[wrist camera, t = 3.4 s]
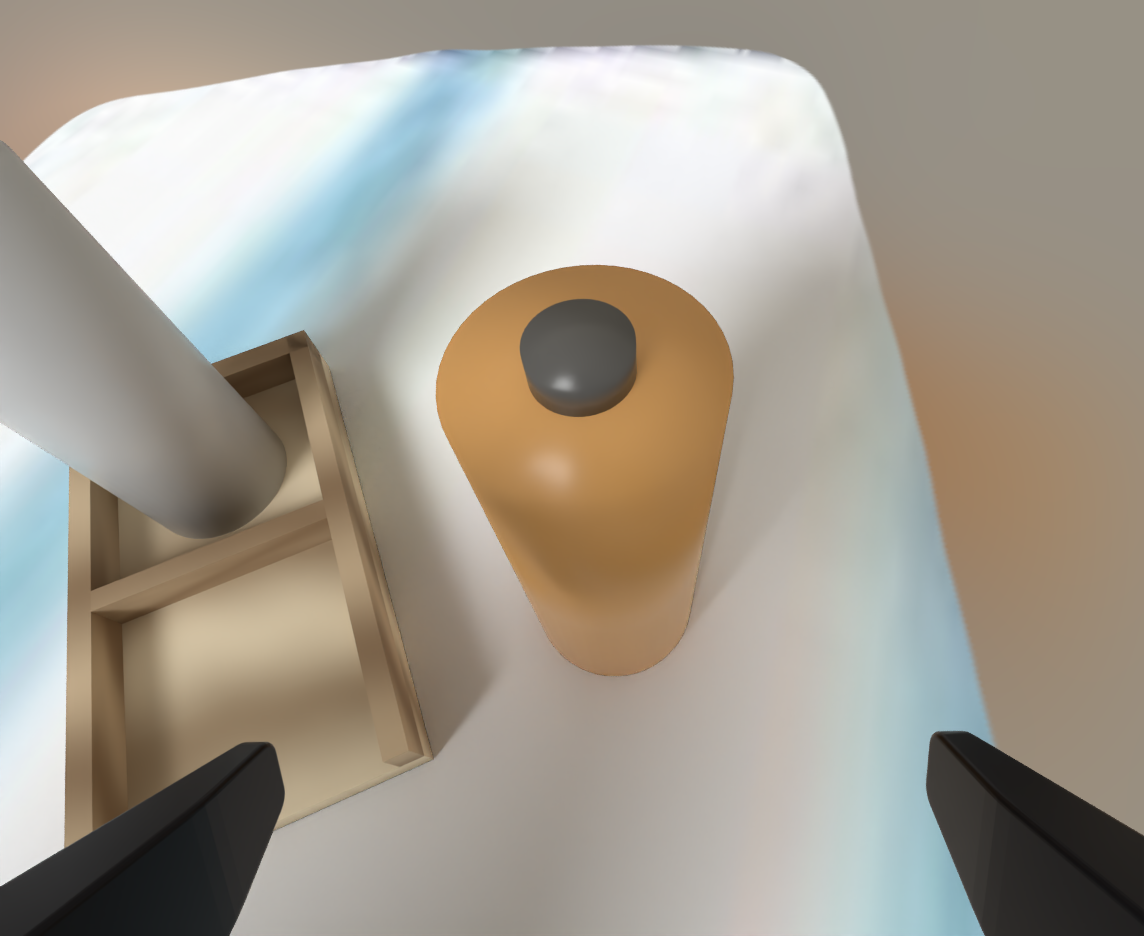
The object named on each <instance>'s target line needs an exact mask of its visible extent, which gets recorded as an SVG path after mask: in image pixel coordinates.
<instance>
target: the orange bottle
mask: <svg viewBox="0 0 1144 936" xmlns="http://www.w3.org/2000/svg"><path fill="white" fill-rule="evenodd" d="M733 379H734V375H733V361H732V357H731V353H730V349H729V346H728V343H727V341H726V339H725V336H724V334H723V332H722V330H721V328H720V327H719V325H718V324H717V322H716V320H715V319H714V318H713V316H712V315H711V314H710V313H709V312H708V311H707V309H706V308H705V307H704V306H703V305H702V304H701V303H700V302H698V301H697V300H696V299H695V298H694V297H693V296H692V295H690V294H689V293H687V292H686V291H684V290H683V289H681V288H680V287H678V286H676V285H674V284H672V283H671V282H669V281H667V280H665V279H662V278H660V277H657V276H655V275H652V274H649V273H646V272H642V271H639V270H635V269H631V268H624V267H618V266H607V265H580V266H572V267H564V268H559V269H555V270H550V271H546V272H543V273H540V274H537V275H534V276H530V277H528V278H526V279H523V280H521V281H519V282H516V283H514V284H512V285H510V286H508V287H507V288H505V289H503V290H501V291H499V292H498V293H496V294H495V295H494V296H492V297H491V298H489V299H488V300H486V301H485V302H484V303H483V304H482V305H480V306H479V307H478V308H477V309H476V310H475V311H473V312H472V313H471V315H470V316H469V317H468V318H467V319H466V320H465V321H464V322H463V323H462V324H461V326H460V327H459V329H458V330H457V331H456V333H455V334H454V336H453V337H452V339H451V341H450V343H449V344H448V346H447V348H446V350H445V352H444V355H443V358H442V360H441V363H440V366H439V371H438V376H437V381H436V403H437V412H438V415H439V419H440V422H441V426H442V428H443V430H444V432H445V435H446V437H447V439H448V441H449V443H450V445H451V447H452V449H453V451H454V453H455V455H456V457H457V459H458V461H459V463H460V465H461V467H462V469H463V471H464V473H465V474H466V476H467V478H468V480H469V482H470V484H471V486H472V488H473V490H474V492H475V494H476V496H477V498H478V500H479V502H480V504H481V506H482V508H483V510H484V512H485V514H486V516H487V518H488V520H489V522H490V524H491V526H492V528H493V530H494V532H495V534H496V536H497V538H498V540H499V542H500V544H501V546H502V548H503V550H504V552H505V554H506V556H507V558H508V560H509V561H510V563H511V565H512V567H513V569H514V571H515V573H516V575H517V577H518V579H519V581H520V583H521V585H522V587H523V589H524V591H525V593H526V595H527V597H528V599H529V601H530V603H531V605H532V607H533V609H534V611H535V613H536V615H537V617H538V619H539V621H540V623H541V625H542V627H543V629H544V631H545V633H546V635H547V637H548V638H549V640H550V642H551V643H552V645H553V646H554V647H555V648H556V650H557V651H558V652H559V653H560V654H561V655H562V656H563V657H564V658H566V659H567V660H568V661H569V662H571V663H572V664H574V665H575V666H577V667H579V668H581V669H583V670H585V671H588V672H591V673H595V674H599V675H605V676H624V675H630V674H635V673H638V672H641V671H644V670H646V669H648V668H650V667H652V666H654V665H656V664H657V663H659V662H660V661H661V660H663V659H664V658H665V657H666V656H667V655H668V654H669V653H670V652H671V651H672V650H673V649H674V648H675V646H676V645H677V644H678V642H679V641H680V639H681V637H682V636H683V634H684V631H685V629H686V626H687V623H688V619H689V615H690V610H691V605H692V600H693V595H694V589H695V584H696V579H697V574H698V569H699V563H700V558H701V553H702V548H703V543H704V537H705V532H706V527H707V522H708V517H709V511H710V506H711V501H712V496H713V491H714V485H715V480H716V475H717V470H718V465H719V459H720V454H721V449H722V444H723V439H724V433H725V428H726V423H727V418H728V413H729V407H730V402H731V397H732V390H733Z"/></svg>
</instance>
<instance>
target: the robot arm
mask: <svg viewBox="0 0 1144 936" xmlns="http://www.w3.org/2000/svg"><path fill="white" fill-rule="evenodd" d="M926 790H927V796H928V800H929V803H930V806H931V808H932V811H933V813H934V815H935V818H936V820H937V823H938V825H939V828H940V830H941V833H942V835H943V837H944V840H945V842H946V845H947V847H948V850H949V852H950V855H951V857H952V859H953V862H954V864H955V867H956V869H957V872H958V874H959V877H960V879H961V881H962V884H963V886H964V889H965V891H966V894H967V896H968V899H969V901H970V903H971V906H972V908H973V911H974V913H975V915H976V917H977V920H978V922H979V924H980V927H981V929H982V931H983V933H984V935H985V936H1144V836H1143V835H1142V834H1140V833H1138V832H1137V831H1135V830H1133V829H1132V828H1130V827H1128V826H1127V825H1125V824H1123V823H1121V822H1120V821H1118V820H1116V819H1115V818H1113V817H1111V816H1110V815H1108V814H1106V813H1105V812H1103V811H1101V810H1100V809H1098V808H1096V807H1095V806H1093V805H1091V804H1089V803H1088V802H1086V801H1084V800H1083V799H1081V798H1079V797H1078V796H1076V795H1074V794H1073V793H1071V792H1069V791H1067V790H1066V789H1064V788H1062V787H1061V786H1059V785H1057V784H1056V783H1054V782H1052V781H1051V780H1049V779H1047V778H1045V777H1044V776H1042V775H1040V774H1039V773H1037V772H1035V771H1034V770H1032V769H1030V768H1029V767H1027V766H1025V765H1024V764H1022V763H1020V762H1018V761H1017V760H1015V759H1013V758H1012V757H1010V756H1008V755H1007V754H1005V753H1003V752H1002V751H1000V750H998V749H997V748H995V747H993V746H991V745H990V744H988V743H986V742H985V741H983V740H981V739H980V738H978V737H976V736H975V735H973V734H971V733H969V732H966V731H938V732H935V733H934V734H933V735H932V736H931V739H930V744H929V755H928V767H927V778H926ZM284 799H285V788H284V783H283V779H282V774H281V770H280V766H279V761H278V757H277V753H276V749H275V747H274V746H273V744H271V743H270V742H243V743H240V744H238V745H236V746H235V747H233V748H231V749H230V750H228V751H226V752H225V753H223V754H221V755H220V756H218V757H216V758H215V759H213V760H211V761H210V762H208V763H206V764H205V765H203V766H201V767H200V768H198V769H196V770H195V771H193V772H191V773H190V774H188V775H186V776H184V777H183V778H181V779H179V780H178V781H176V782H174V783H173V784H171V785H169V786H168V787H166V788H164V789H163V790H161V791H159V792H158V793H156V794H154V795H153V796H151V797H149V798H148V799H146V800H144V801H143V802H141V803H139V804H138V805H136V806H134V807H133V808H131V809H129V810H128V811H126V812H124V813H123V814H121V815H119V816H118V817H116V818H114V819H113V820H111V821H109V822H108V823H106V824H104V825H103V826H101V827H99V828H97V829H96V830H94V831H92V832H91V833H89V834H87V835H86V836H84V837H82V838H81V839H79V840H77V841H76V842H74V843H72V844H71V845H69V846H67V847H66V848H64V849H62V850H61V851H59V852H57V853H56V854H54V855H52V856H51V857H49V858H47V859H46V860H44V861H42V862H41V863H39V864H37V865H36V866H34V867H32V868H31V869H29V870H27V871H26V872H24V873H22V874H21V875H19V876H17V877H15V878H14V879H12V880H10V881H9V882H7V883H5V884H4V885H2V886H0V936H229V935H230V933H231V931H232V929H233V927H234V925H235V923H236V921H237V919H238V916H239V914H240V912H241V909H242V907H243V905H244V902H245V900H246V898H247V895H248V893H249V890H250V888H251V885H252V883H253V880H254V878H255V875H256V873H257V870H258V868H259V865H260V863H261V860H262V858H263V855H264V853H265V850H266V848H267V845H268V843H269V840H270V838H271V835H272V833H273V830H274V828H275V825H276V823H277V820H278V818H279V815H280V813H281V810H282V807H283V804H284Z"/></svg>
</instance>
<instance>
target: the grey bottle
mask: <svg viewBox="0 0 1144 936" xmlns="http://www.w3.org/2000/svg"><path fill="white" fill-rule="evenodd" d="M0 423H2V424H4V425H5V426H7V427H8V428H10V429H11V430H13V431H15V432H16V433H18V434H19V435H21V436H22V437H24V438H26V439H27V440H29V441H30V442H32V443H33V444H35V445H37V446H38V447H40V448H41V449H43V450H44V451H46V452H48V453H49V454H51V455H52V456H54V457H55V458H57V459H59V460H60V461H62V462H63V463H65V464H66V465H68V466H70V467H71V468H73V469H74V470H76V471H77V472H79V473H81V474H82V475H84V476H85V477H87V478H88V479H90V480H92V481H93V482H95V483H96V484H98V485H100V486H101V487H103V488H104V489H106V490H107V491H109V492H111V493H112V494H114V495H115V496H117V497H118V498H120V499H122V500H123V501H125V502H126V503H128V504H129V505H131V506H133V507H134V508H136V509H137V510H139V511H140V512H142V513H144V514H145V515H147V516H148V517H150V518H151V519H153V520H155V521H156V522H158V523H159V524H161V525H162V526H164V527H166V528H167V529H169V530H170V531H172V532H174V533H176V534H178V535H180V536H183V537H186V538H192V539H207V538H214V537H218V536H222V535H225V534H228V533H230V532H232V531H235V530H237V529H239V528H241V527H242V526H244V525H246V524H247V523H249V522H250V521H251V520H253V519H254V518H255V517H257V516H258V515H259V514H260V513H261V512H262V511H263V510H264V509H265V508H266V507H267V506H268V505H269V504H270V502H271V501H272V500H273V498H274V497H275V495H276V494H277V492H278V490H279V489H280V486H281V484H282V482H283V479H284V476H285V472H286V466H287V457H286V451H285V448H284V445H283V443H282V441H281V439H280V438H279V437H278V436H277V434H276V433H275V432H274V431H273V430H272V429H271V428H270V427H269V426H268V425H267V424H266V423H265V421H264V420H263V419H262V418H261V417H260V416H259V415H258V414H257V413H256V412H255V411H254V410H253V409H252V407H251V406H250V405H249V404H248V403H247V402H246V401H245V400H244V399H243V398H242V397H241V396H240V395H239V393H238V392H237V391H236V390H235V389H234V388H233V387H232V386H231V385H230V384H229V383H228V382H227V381H226V379H225V378H224V377H223V376H222V375H221V374H220V373H219V372H218V371H217V370H216V369H215V368H214V367H213V365H212V364H211V363H210V362H209V361H208V360H207V359H206V358H205V357H204V356H203V355H202V354H201V353H200V352H199V350H198V349H197V348H196V347H195V346H194V345H193V344H192V343H191V342H190V341H189V340H188V339H187V338H186V336H185V335H184V334H183V333H182V332H181V331H180V330H179V329H178V328H177V327H176V326H175V325H174V324H173V322H172V321H171V320H170V319H169V318H168V317H167V316H166V315H165V314H164V313H163V312H162V311H161V310H160V308H159V307H158V306H157V305H156V304H155V303H154V302H153V301H152V300H151V299H150V298H149V297H148V296H147V294H146V293H145V292H144V291H143V290H142V289H141V288H140V287H139V286H138V285H137V284H136V283H135V282H134V280H133V279H132V278H131V277H130V276H129V275H128V274H127V273H126V272H125V271H124V270H123V269H122V268H121V266H120V265H119V264H118V263H117V262H116V261H115V260H114V259H113V258H112V257H111V256H110V255H109V254H108V252H107V251H106V250H105V249H104V248H103V247H102V246H101V245H100V244H99V243H98V242H97V241H96V240H95V238H94V237H93V236H92V235H91V234H90V233H89V232H88V231H87V230H86V229H85V228H84V227H83V226H82V224H81V223H80V222H79V221H78V220H77V219H76V218H75V217H74V216H73V215H72V214H71V213H70V212H69V210H68V209H67V208H66V207H65V206H64V205H63V204H62V203H61V202H60V201H59V200H58V199H57V198H56V196H55V195H54V194H53V193H52V192H51V191H50V190H49V189H48V188H47V187H46V186H45V185H44V184H43V182H42V181H41V180H40V179H39V178H38V177H37V176H36V175H35V174H34V173H33V172H32V171H31V170H30V168H29V167H28V166H27V165H26V164H25V163H24V162H23V161H22V160H21V159H20V158H19V157H18V156H17V155H16V153H15V152H14V151H13V150H12V149H11V148H10V147H9V146H8V145H6V144H5V143H4V142H3V141H1V140H0Z"/></svg>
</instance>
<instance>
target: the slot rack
mask: <svg viewBox="0 0 1144 936" xmlns="http://www.w3.org/2000/svg"><path fill="white" fill-rule="evenodd" d="M212 365H213V367H214V368H215V369H216V370H217V371H218V372H219V373H220V374H221V375H222V376H223V377H224V378H225V379H226V381H227V382H228V383H229V384H230V385H231V386H232V387H233V388H234V389H235V390H236V391H237V392H238V393H239V395H240V396H241V397H242V398H243V399H244V400H245V401H246V402H247V403H248V404H249V405H250V406H251V407H252V409H253V410H254V411H255V412H256V413H257V414H258V415H259V416H260V417H261V418H262V419H263V420H264V421H265V423H266V424H267V425H268V426H269V427H270V428H271V429H272V430H273V431H274V432H275V433H276V434H277V436H278V437H279V438H280V439H281V441H282V443H283V445H284V448H285V451H286V457H287V466H286V472H285V476H284V479H283V482H282V484H281V486H280V489H279V490H278V492H277V494H276V495H275V497H274V498H273V500H272V501H271V502H270V504H269V505H268V506H267V507H266V508H265V509H264V510H263V511H262V512H261V513H260V514H259V515H258V516H257V517H255V518H254V519H253V520H251V521H250V522H249V523H247V524H246V525H244V526H242V527H241V528H239V529H237V530H235V531H232V532H230V533H228V534H225V535H222V536H218V537H214V538H207V539H192V538H186V537H183V536H180V535H178V534H176V533H174V532H172V531H170V530H169V529H167V528H166V527H164V526H162V525H161V524H159V523H158V522H156V521H155V520H153V519H151V518H150V517H148V516H147V515H145V514H144V513H142V512H140V511H139V510H137V509H136V508H134V507H133V506H131V505H129V504H128V503H126V502H125V501H123V500H122V499H120V498H118V497H117V496H115V495H114V494H112V493H111V492H109V491H107V490H106V489H104V488H103V487H101V486H100V485H98V484H96V483H95V482H93V481H92V480H90V479H88V478H87V477H85V476H84V475H82V474H81V473H79V472H77V471H76V470H74V469H73V468H71V467H70V466H69V534H68V612H67V689H66V766H65V843H64V848H66V847H67V846H69V845H71V844H72V843H74V842H76V841H77V840H79V839H81V838H82V837H84V836H86V835H87V834H89V833H91V832H92V831H94V830H96V829H97V828H99V827H101V826H103V825H104V824H106V823H108V822H109V821H111V820H113V819H114V818H116V817H118V816H119V815H121V814H123V813H124V812H126V811H128V810H129V809H131V808H133V807H134V806H136V805H138V804H139V803H141V802H143V801H144V800H146V799H148V798H149V797H151V796H153V795H154V794H156V793H158V792H159V791H161V790H163V789H164V788H166V787H168V786H169V785H171V784H173V783H174V782H176V781H178V780H179V779H181V778H183V777H184V776H186V775H188V774H190V773H191V772H193V771H195V770H196V769H198V768H200V767H201V766H203V765H205V764H206V763H208V762H210V761H211V760H213V759H215V758H216V757H218V756H220V755H221V754H223V753H225V752H226V751H228V750H230V749H231V748H233V747H235V746H236V745H238V744H240V743H243V742H270V743H271V744H273V746H274V747H275V749H276V753H277V757H278V761H279V766H280V770H281V774H282V779H283V783H284V788H285V799H284V804H283V807H282V810H281V813H280V815H279V818H278V820H277V823H276V825H275V828H274V830H277V829H279V828H281V827H283V826H285V825H288V824H290V823H292V822H294V821H297V820H299V819H301V818H303V817H306V816H308V815H310V814H312V813H315V812H317V811H319V810H321V809H323V808H326V807H328V806H330V805H332V804H335V803H337V802H339V801H341V800H344V799H346V798H348V797H350V796H353V795H355V794H357V793H359V792H362V791H364V790H366V789H368V788H370V787H373V786H375V785H377V784H379V783H382V782H384V781H386V780H388V779H391V778H393V777H395V776H397V775H400V774H402V773H404V772H406V771H409V770H411V769H413V768H415V767H417V766H420V765H422V764H424V763H426V762H429V761H431V760H433V755H432V751H431V748H430V744H429V740H428V736H427V733H426V729H425V725H424V721H423V718H422V714H421V710H420V706H419V703H418V699H417V695H416V691H415V688H414V684H413V680H412V676H411V673H410V669H409V665H408V661H407V658H406V654H405V650H404V646H403V643H402V639H401V635H400V631H399V628H398V624H397V620H396V616H395V613H394V609H393V605H392V601H391V598H390V594H389V590H388V586H387V583H386V579H385V575H384V571H383V568H382V564H381V560H380V556H379V553H378V549H377V545H376V541H375V538H374V534H373V530H372V526H371V523H370V519H369V515H368V511H367V508H366V504H365V500H364V496H363V493H362V489H361V485H360V481H359V478H358V474H357V470H356V466H355V463H354V459H353V455H352V451H351V448H350V444H349V440H348V436H347V433H346V429H345V425H344V421H343V418H342V414H341V410H340V406H339V403H338V399H337V395H336V391H335V388H334V384H333V380H332V376H331V373H330V369H329V366H328V365H327V363H326V362H325V360H324V359H323V357H322V356H321V354H320V353H319V352H318V350H317V349H316V347H315V346H314V344H313V343H312V341H311V340H310V338H309V337H308V335H307V334H306V332H305V331H304V330H303V331H300V332H297V333H295V334H292V335H289V336H286V337H284V338H281V339H278V340H276V341H273V342H270V343H267V344H265V345H262V346H259V347H256V348H254V349H251V350H248V351H245V352H243V353H240V354H237V355H234V356H232V357H229V358H226V359H223V360H221V361H218V362H215V363H212ZM274 830H273V831H274Z"/></svg>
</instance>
